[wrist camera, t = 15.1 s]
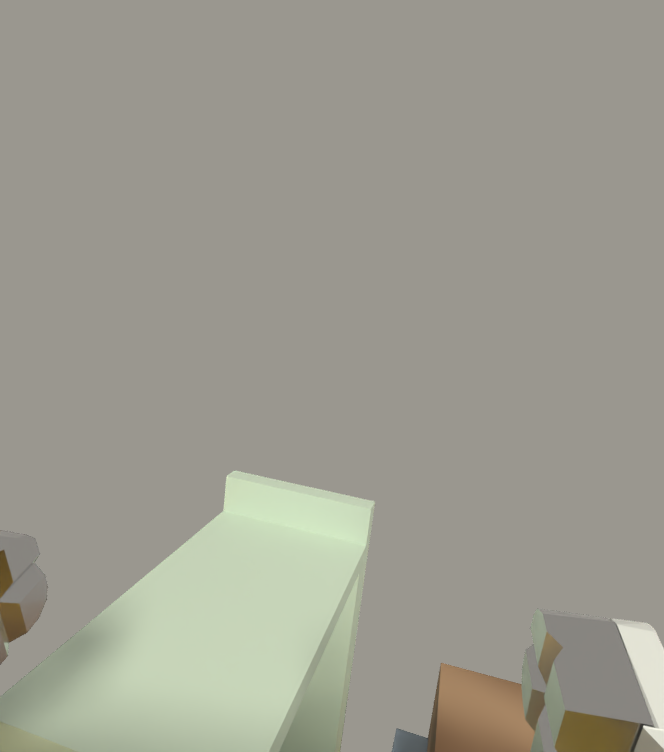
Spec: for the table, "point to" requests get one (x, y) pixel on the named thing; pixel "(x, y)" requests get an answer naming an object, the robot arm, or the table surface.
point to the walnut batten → (477, 714)
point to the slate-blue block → (409, 742)
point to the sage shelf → (215, 639)
